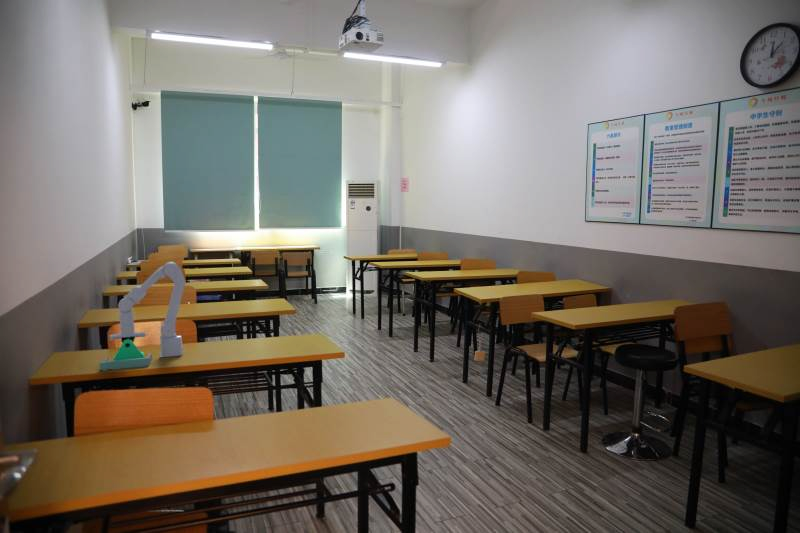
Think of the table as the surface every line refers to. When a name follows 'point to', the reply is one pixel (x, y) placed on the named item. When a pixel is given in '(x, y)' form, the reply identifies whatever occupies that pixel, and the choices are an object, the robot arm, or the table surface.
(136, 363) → the dock
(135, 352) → the camera mount
